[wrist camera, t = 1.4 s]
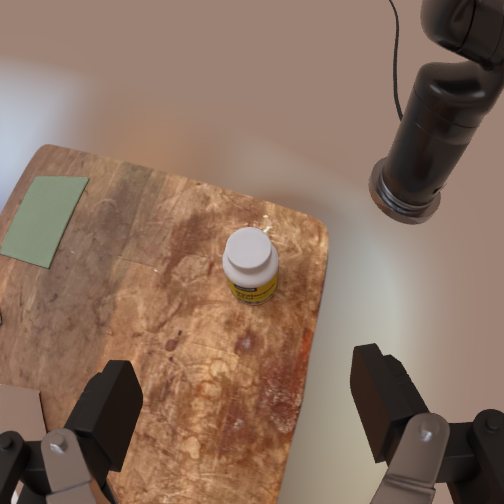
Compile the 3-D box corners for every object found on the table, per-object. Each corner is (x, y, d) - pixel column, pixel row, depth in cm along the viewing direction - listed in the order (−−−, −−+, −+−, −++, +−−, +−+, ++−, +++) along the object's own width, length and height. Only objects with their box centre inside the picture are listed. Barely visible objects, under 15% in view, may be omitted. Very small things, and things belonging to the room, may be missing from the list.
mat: (36, 176, 47) (35, 175, 47) (89, 178, 45) (88, 177, 45) (-1, 253, 41) (-2, 253, 40) (49, 268, 39) (48, 268, 39)
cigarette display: (14, 393, 31) (-33, 384, 22) (40, 390, 31) (-9, 382, 23) (50, 523, 22) (8, 537, 14) (79, 527, 23) (38, 547, 14)
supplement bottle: (234, 310, 35) (221, 280, 26) (227, 266, 37) (213, 225, 29) (282, 301, 35) (285, 268, 26) (272, 258, 38) (272, 214, 29)
